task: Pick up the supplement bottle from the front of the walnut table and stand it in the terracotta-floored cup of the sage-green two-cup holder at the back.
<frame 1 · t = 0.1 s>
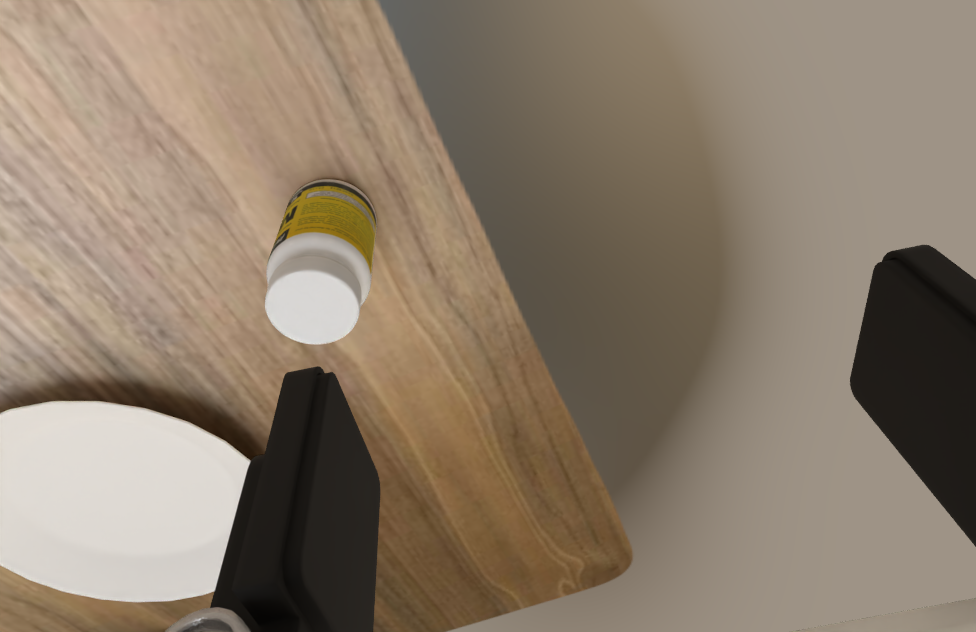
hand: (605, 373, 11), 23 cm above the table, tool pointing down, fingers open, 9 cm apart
supplement bottle: (333, 216, 34), on the table
plate: (132, 487, 45), on the table
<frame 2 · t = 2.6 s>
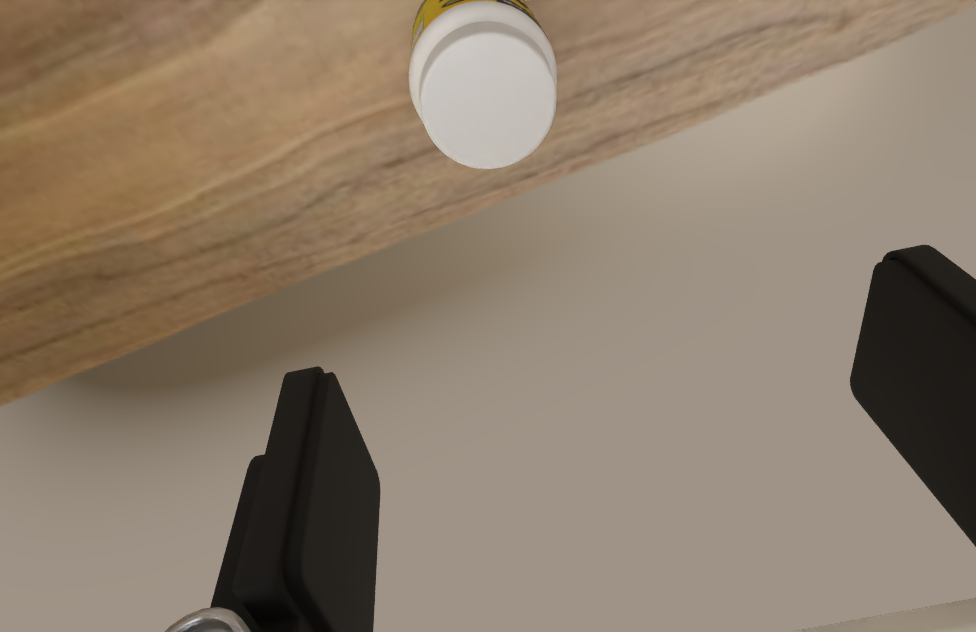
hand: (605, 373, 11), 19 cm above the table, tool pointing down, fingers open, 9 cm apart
supplement bottle: (472, 37, 25), on the table
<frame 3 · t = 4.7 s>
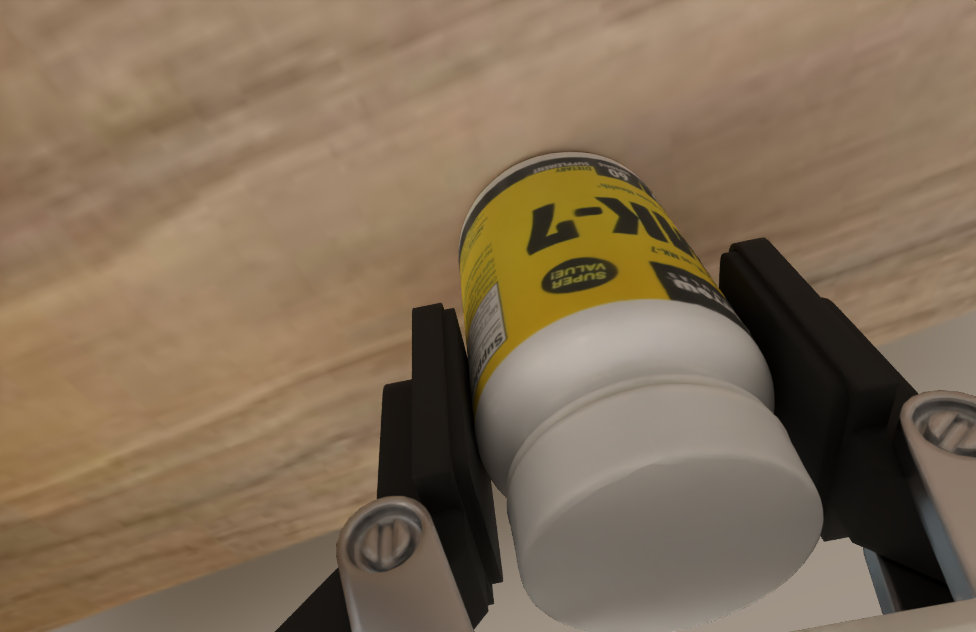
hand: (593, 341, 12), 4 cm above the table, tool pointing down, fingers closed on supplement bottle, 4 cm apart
supplement bottle: (555, 237, 15), on the table, touching gripper
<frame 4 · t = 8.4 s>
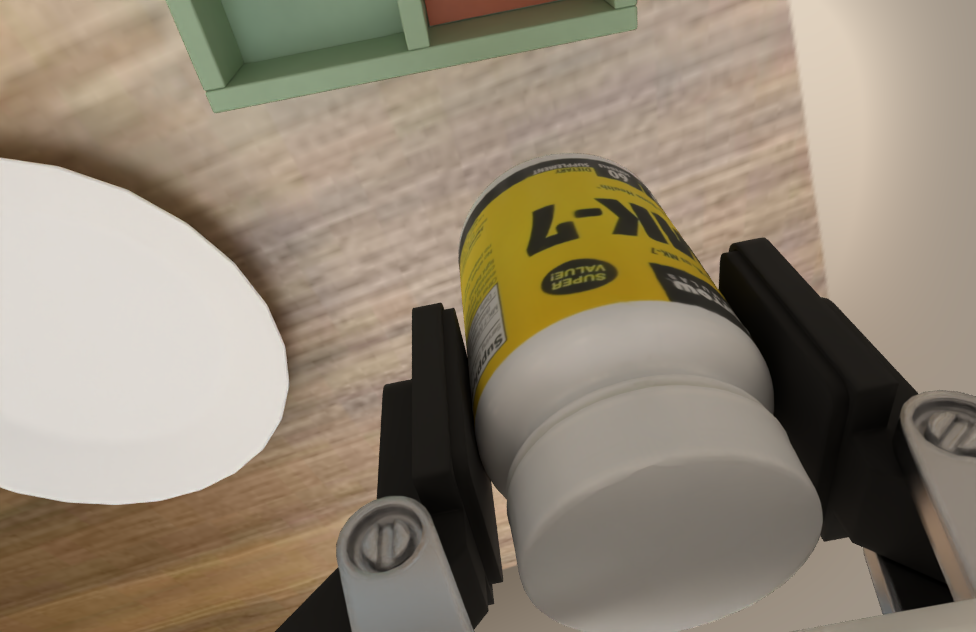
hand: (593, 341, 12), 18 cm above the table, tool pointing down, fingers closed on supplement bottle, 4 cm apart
supplement bottle: (555, 238, 15), point 14 cm above the table, touching gripper
plate: (84, 334, 33), on the table
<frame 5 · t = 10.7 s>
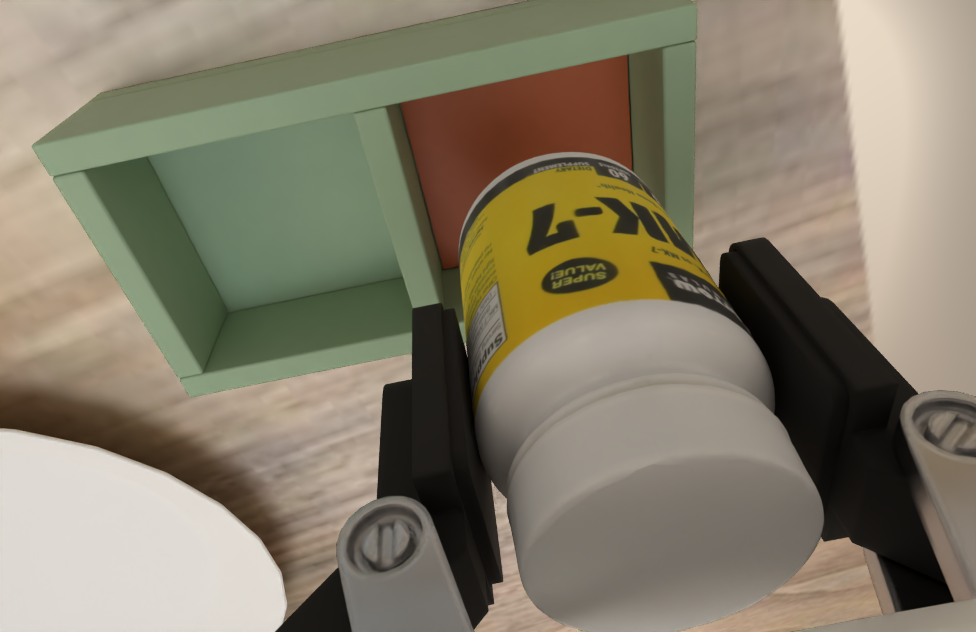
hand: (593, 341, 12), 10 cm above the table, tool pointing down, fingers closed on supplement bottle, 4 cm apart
supplement bottle: (555, 237, 15), point 6 cm above the table, touching gripper
plate: (58, 551, 29), on the table
holder: (405, 170, 20), on the table
when the fingers open (5 cm above the table, at t = 12.4 s): supplement bottle stays where it is, resting on holder.
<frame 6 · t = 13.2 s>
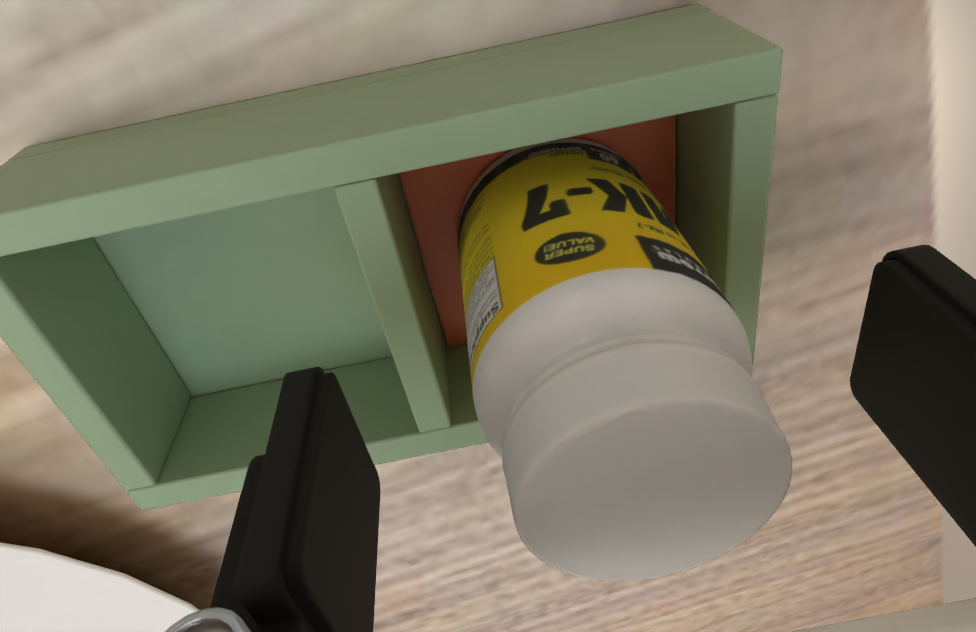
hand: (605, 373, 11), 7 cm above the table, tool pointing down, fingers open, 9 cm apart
supplement bottle: (550, 221, 16), point 1 cm above the table, touching holder
holder: (402, 233, 17), on the table
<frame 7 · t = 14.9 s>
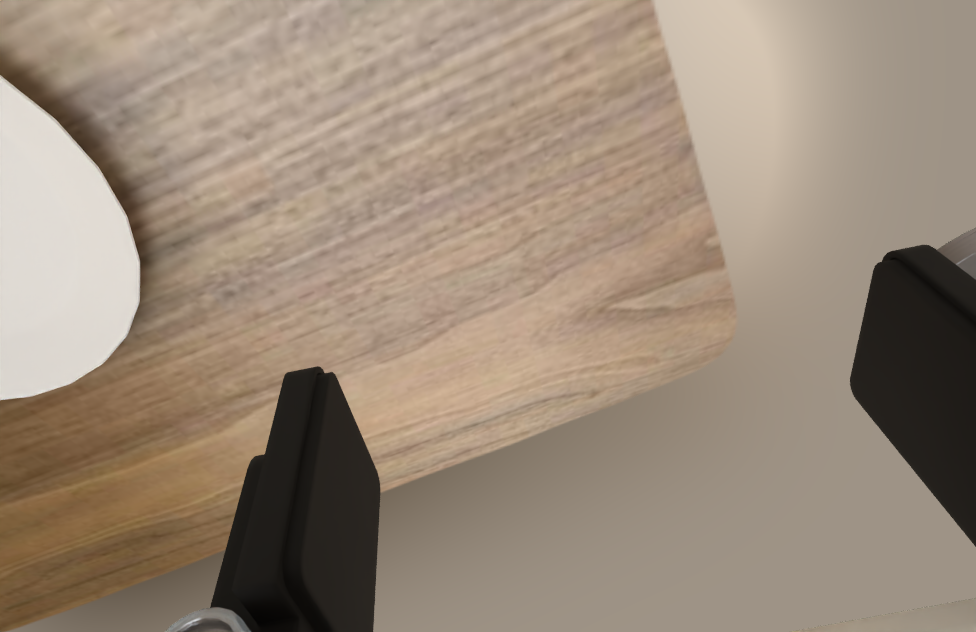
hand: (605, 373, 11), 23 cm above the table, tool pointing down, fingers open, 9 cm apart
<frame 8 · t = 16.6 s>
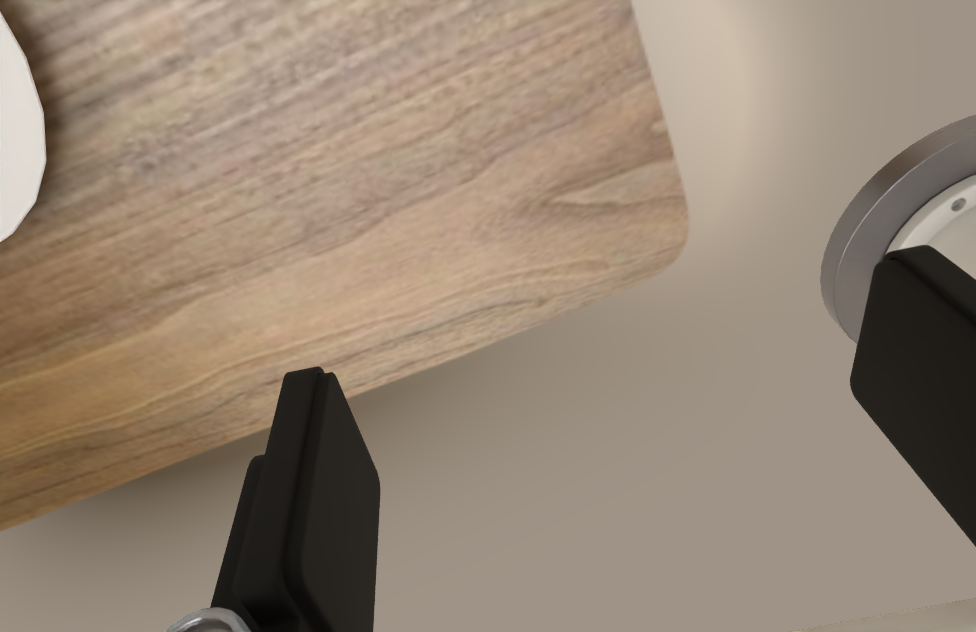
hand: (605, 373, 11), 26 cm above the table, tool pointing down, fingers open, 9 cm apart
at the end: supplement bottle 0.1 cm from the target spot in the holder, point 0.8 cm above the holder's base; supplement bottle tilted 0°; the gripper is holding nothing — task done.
